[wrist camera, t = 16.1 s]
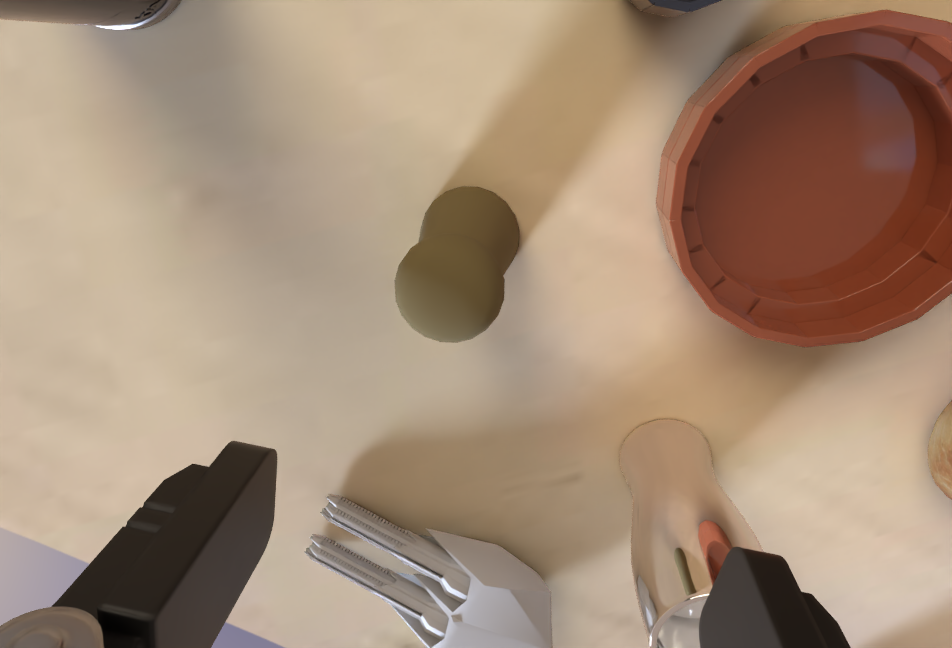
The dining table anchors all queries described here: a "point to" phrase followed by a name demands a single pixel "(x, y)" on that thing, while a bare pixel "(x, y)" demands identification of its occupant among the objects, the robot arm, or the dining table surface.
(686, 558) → the beer glass
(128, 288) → the dining table surface
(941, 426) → the bread roll
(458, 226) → the cork
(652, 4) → the bowl
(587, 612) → the dining table surface
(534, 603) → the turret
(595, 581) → the dining table surface
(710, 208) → the serving bowl
